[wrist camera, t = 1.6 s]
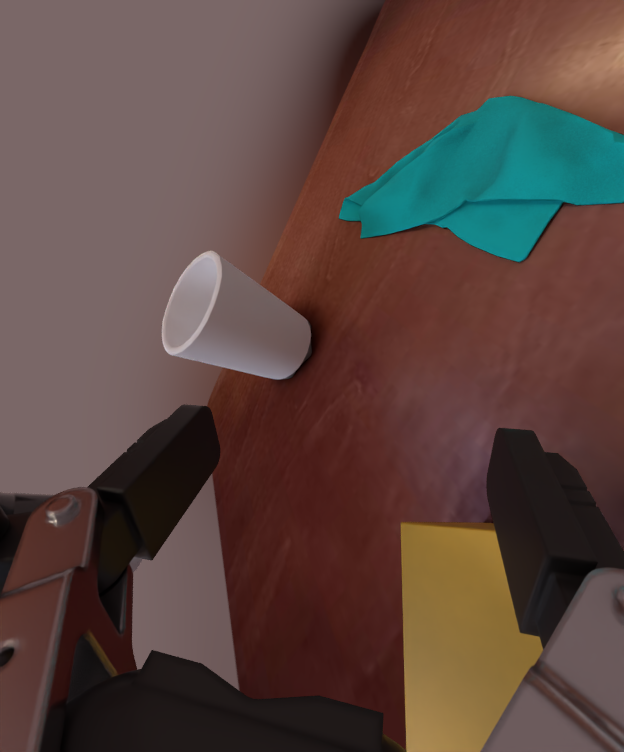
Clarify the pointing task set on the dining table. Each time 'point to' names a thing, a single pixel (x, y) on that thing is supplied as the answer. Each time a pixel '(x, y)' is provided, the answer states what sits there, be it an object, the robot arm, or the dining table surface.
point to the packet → (458, 636)
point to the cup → (233, 322)
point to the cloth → (496, 177)
